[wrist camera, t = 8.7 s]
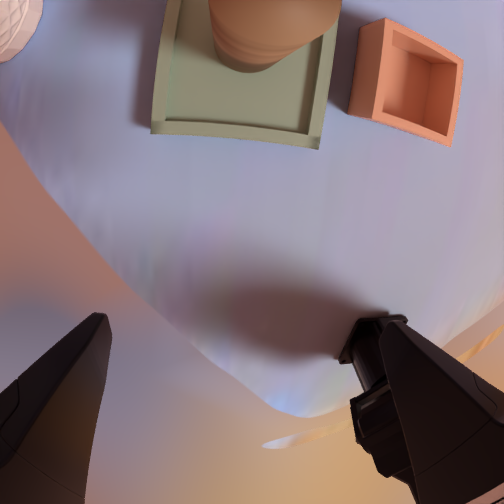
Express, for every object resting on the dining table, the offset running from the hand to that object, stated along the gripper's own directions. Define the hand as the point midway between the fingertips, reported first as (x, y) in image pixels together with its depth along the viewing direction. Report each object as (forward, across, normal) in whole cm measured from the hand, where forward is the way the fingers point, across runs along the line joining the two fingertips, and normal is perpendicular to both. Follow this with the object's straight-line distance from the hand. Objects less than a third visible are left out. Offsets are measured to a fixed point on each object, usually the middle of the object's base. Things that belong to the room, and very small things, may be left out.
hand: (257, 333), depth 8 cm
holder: (+12, -10, -10) cm, 19 cm away
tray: (+12, 0, -10) cm, 16 cm away
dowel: (+12, 0, -10) cm, 15 cm away
